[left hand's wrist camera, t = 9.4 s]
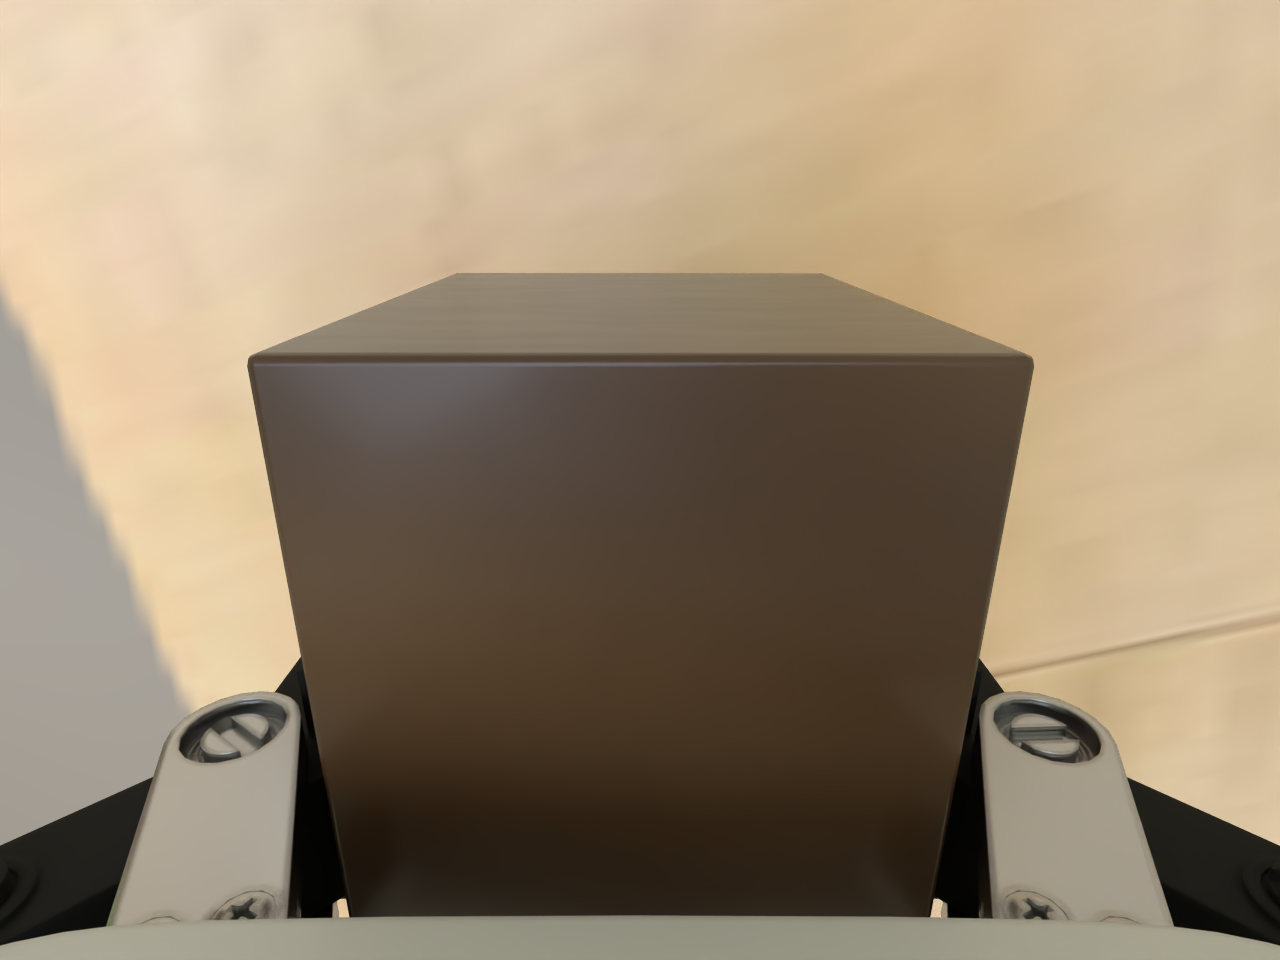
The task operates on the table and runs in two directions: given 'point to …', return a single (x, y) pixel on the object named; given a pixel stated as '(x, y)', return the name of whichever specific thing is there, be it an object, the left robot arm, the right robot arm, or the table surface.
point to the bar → (640, 588)
